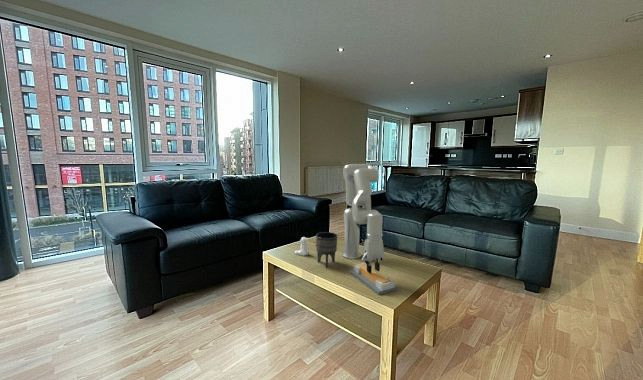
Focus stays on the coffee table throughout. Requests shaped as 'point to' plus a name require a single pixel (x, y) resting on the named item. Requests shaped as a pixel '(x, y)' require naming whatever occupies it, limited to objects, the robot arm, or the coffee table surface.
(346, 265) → the coffee table surface
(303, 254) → the sitting furry creature
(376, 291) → the cap board
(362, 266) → the slat
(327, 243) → the planter
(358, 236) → the robot arm
